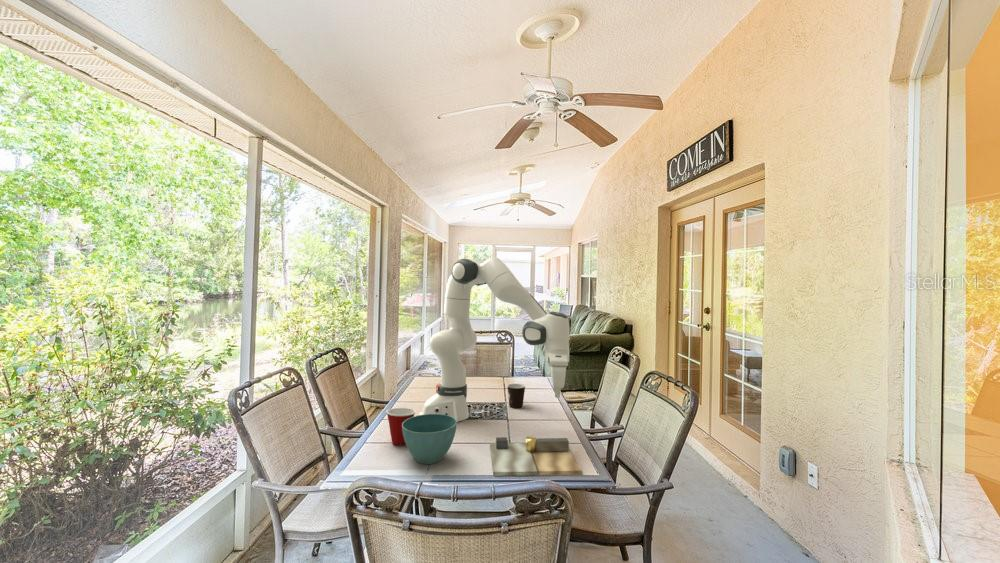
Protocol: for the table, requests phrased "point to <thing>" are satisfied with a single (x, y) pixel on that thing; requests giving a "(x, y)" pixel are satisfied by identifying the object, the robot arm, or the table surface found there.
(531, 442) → the latch bar
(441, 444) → the plant pot
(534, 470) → the door board
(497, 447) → the block
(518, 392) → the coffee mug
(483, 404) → the table surface
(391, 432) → the plastic cup
